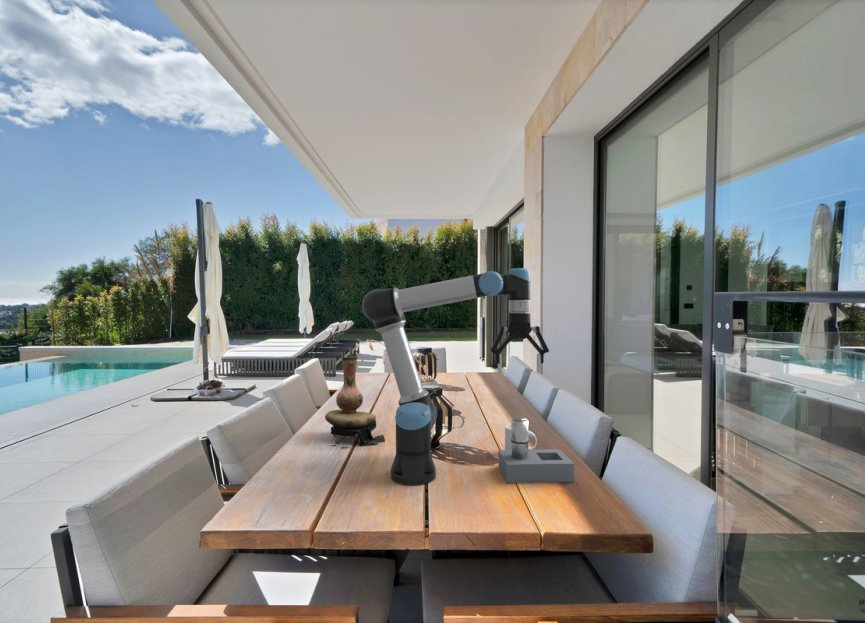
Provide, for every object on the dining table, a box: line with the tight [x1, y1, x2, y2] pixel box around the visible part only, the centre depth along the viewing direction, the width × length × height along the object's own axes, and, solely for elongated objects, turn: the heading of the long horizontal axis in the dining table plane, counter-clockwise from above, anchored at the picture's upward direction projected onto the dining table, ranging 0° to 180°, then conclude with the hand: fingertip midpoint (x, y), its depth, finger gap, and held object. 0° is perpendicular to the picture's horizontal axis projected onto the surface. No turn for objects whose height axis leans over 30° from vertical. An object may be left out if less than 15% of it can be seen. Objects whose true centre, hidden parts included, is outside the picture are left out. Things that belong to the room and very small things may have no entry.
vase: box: [324, 356, 386, 449], centre depth 188 cm, size 24×22×35 cm
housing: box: [497, 448, 575, 484], centre depth 149 cm, size 22×14×6 cm, turn 93°
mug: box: [504, 423, 538, 450], centre depth 168 cm, size 9×12×11 cm
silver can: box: [511, 415, 530, 460], centre depth 149 cm, size 6×6×13 cm
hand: (519, 372), depth 156 cm, fingers open, 13 cm apart
